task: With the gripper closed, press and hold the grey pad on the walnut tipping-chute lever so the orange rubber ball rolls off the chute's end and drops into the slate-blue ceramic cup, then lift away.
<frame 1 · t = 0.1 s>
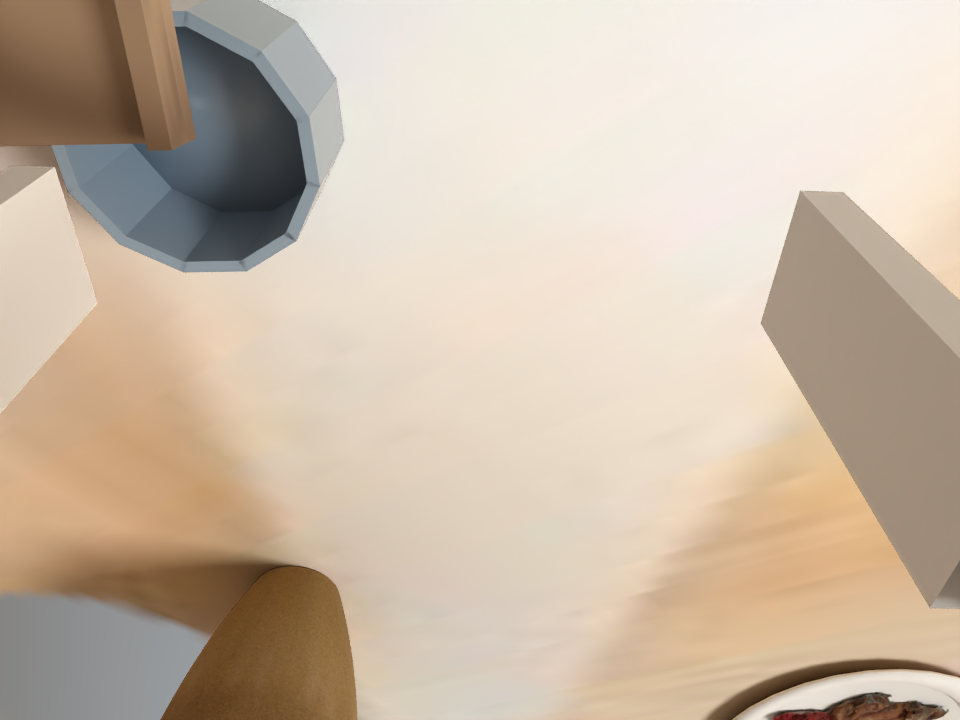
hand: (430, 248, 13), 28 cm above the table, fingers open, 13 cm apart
cup: (229, 112, 39), on the table
plant pot: (299, 589, 63), on the table
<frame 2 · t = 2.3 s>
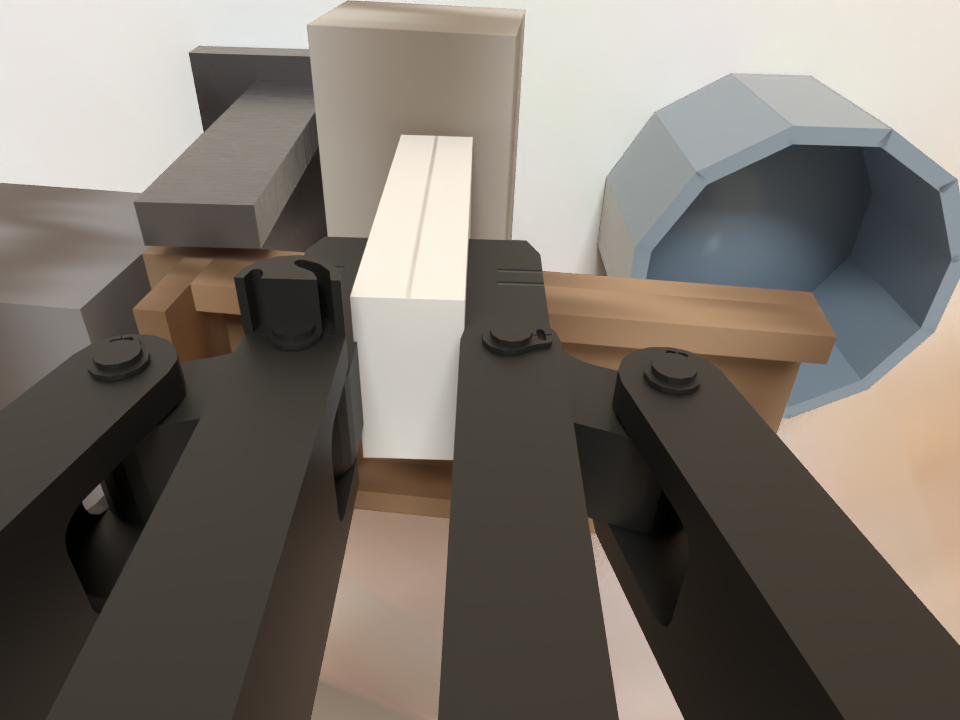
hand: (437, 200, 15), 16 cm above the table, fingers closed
lever stand: (316, 203, 32), on the table
cup: (735, 215, 33), on the table
lever: (346, 280, 20), point 13 cm above the table, hinge at -6.3°, touching ball, gripper
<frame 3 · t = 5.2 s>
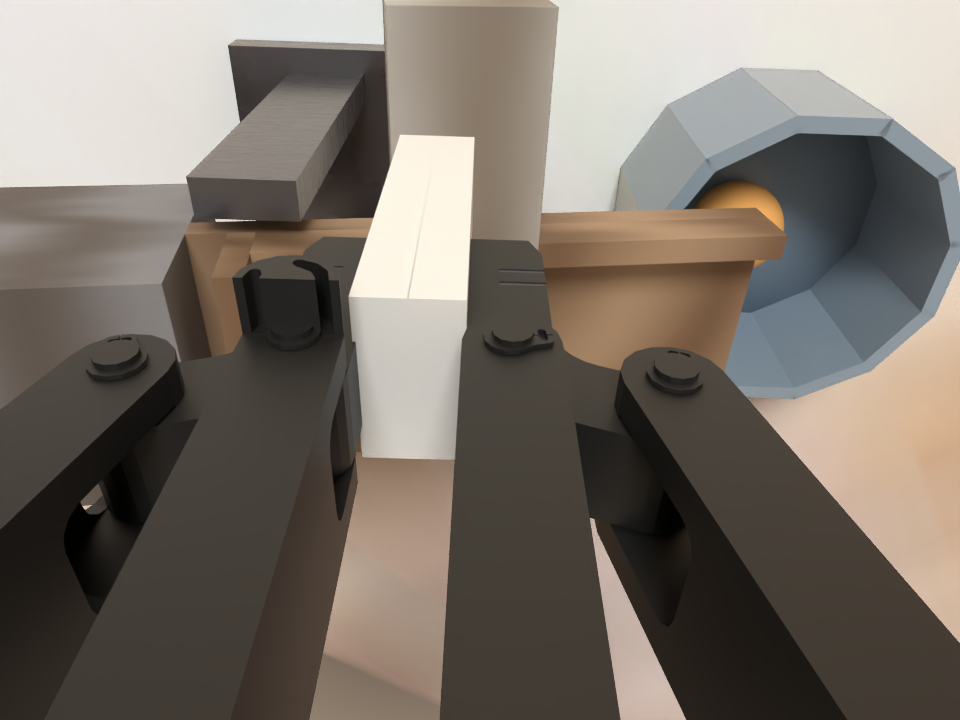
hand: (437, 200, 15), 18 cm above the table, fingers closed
lever stand: (343, 190, 34), on the table
cup: (745, 205, 34), on the table
ball: (735, 227, 32), point 3 cm above the table, tilted 60°, touching cup
lever: (376, 239, 22), point 12 cm above the table, hinge at 9.0°
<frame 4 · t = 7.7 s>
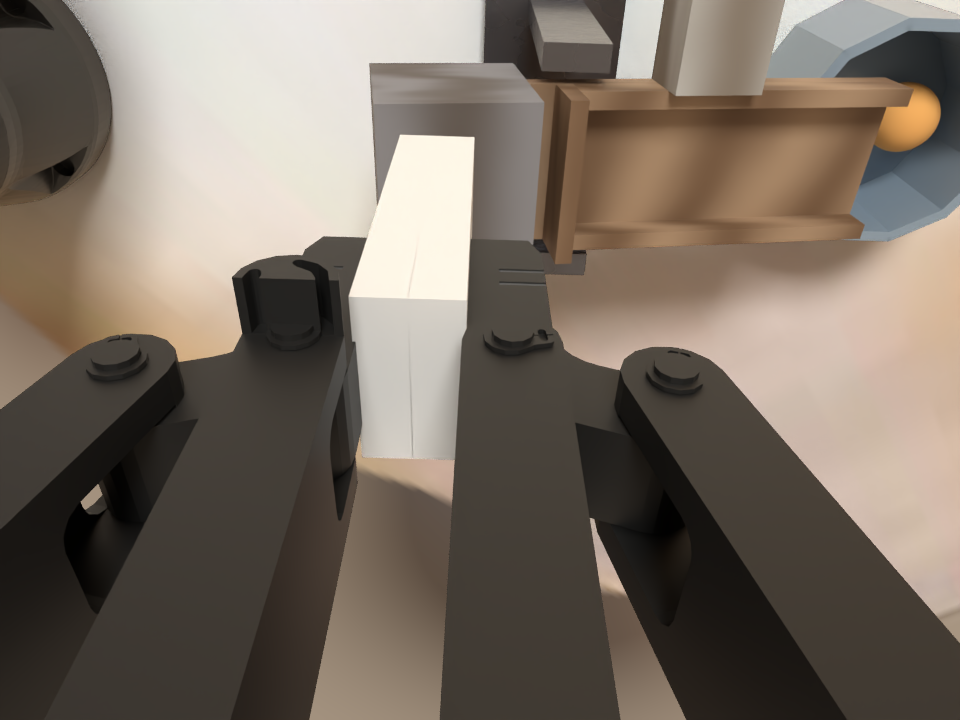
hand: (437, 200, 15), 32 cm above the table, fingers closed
lever stand: (546, 94, 45), on the table
cup: (846, 104, 45), on the table
ball: (901, 117, 43), point 3 cm above the table, tilted 158°, touching cup
lever: (641, 93, 34), point 12 cm above the table, hinge at 9.0°
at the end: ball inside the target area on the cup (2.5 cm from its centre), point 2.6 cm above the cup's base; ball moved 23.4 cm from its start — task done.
